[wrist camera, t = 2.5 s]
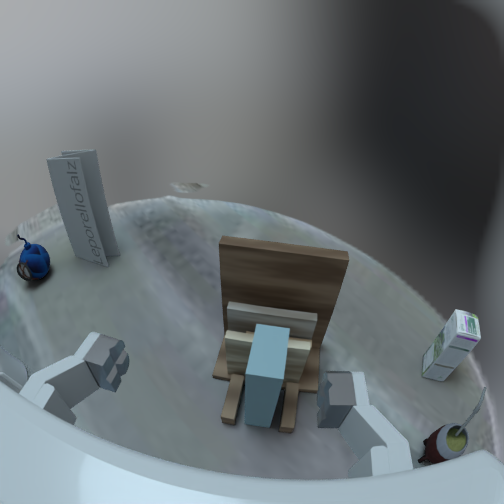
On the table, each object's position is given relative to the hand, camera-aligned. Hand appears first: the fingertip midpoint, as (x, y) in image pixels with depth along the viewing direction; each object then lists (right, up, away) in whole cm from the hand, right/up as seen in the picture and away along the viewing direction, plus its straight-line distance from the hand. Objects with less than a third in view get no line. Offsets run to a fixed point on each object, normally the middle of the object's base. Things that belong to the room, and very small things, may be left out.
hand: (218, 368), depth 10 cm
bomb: (-58, -3, +52) cm, 78 cm away
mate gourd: (+32, -30, +21) cm, 48 cm away
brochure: (-42, +3, +61) cm, 74 cm away
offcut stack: (+4, -15, +36) cm, 39 cm away
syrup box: (+38, -19, +35) cm, 55 cm away
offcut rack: (+4, -17, +35) cm, 39 cm away
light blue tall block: (+3, -21, +31) cm, 37 cm away
